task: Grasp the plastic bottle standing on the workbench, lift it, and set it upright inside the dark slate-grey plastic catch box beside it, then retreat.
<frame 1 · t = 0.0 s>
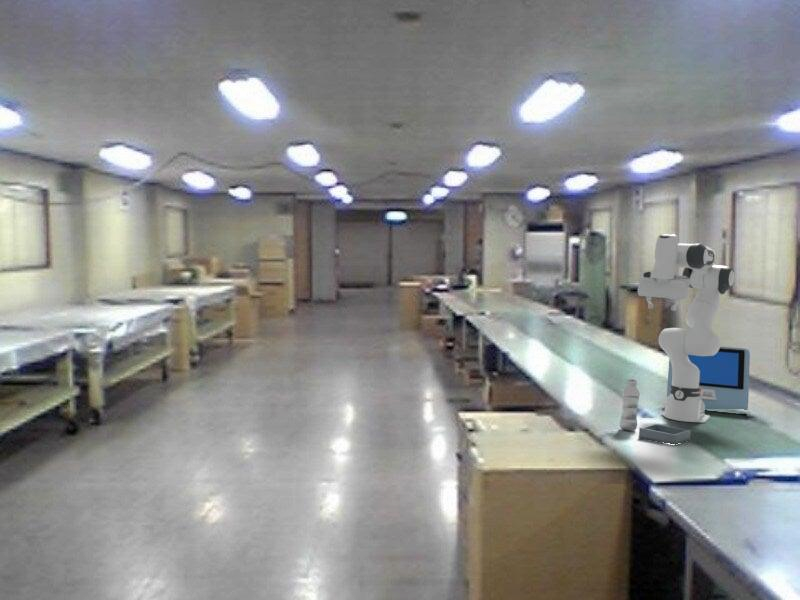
hand: (662, 309, 316), 48 cm above the table, fingers open, 8 cm apart
plastic bottle: (627, 431, 311), on the table
catch box: (664, 439, 298), on the table
touchscreen device: (704, 409, 373), on the table
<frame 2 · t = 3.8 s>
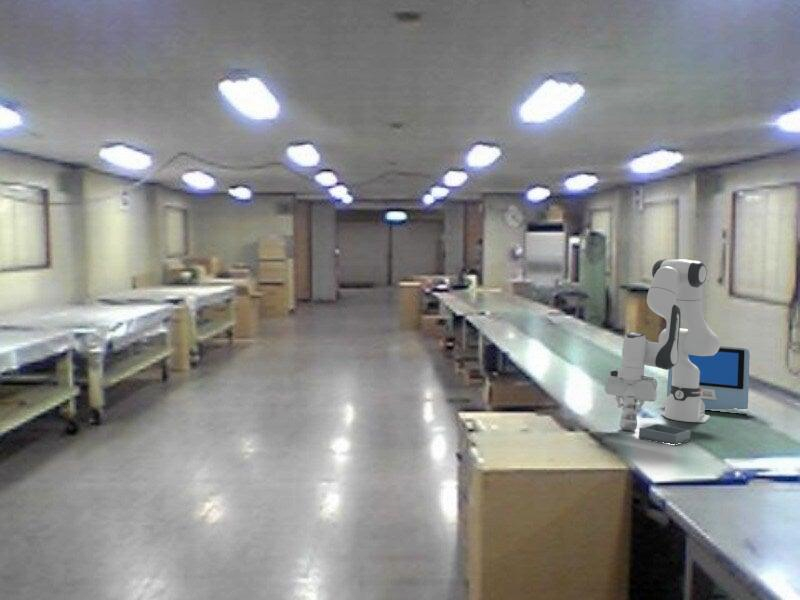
hand: (629, 409, 310), 9 cm above the table, fingers open, 6 cm apart
plastic bottle: (627, 431, 311), on the table, touching arm, gripper
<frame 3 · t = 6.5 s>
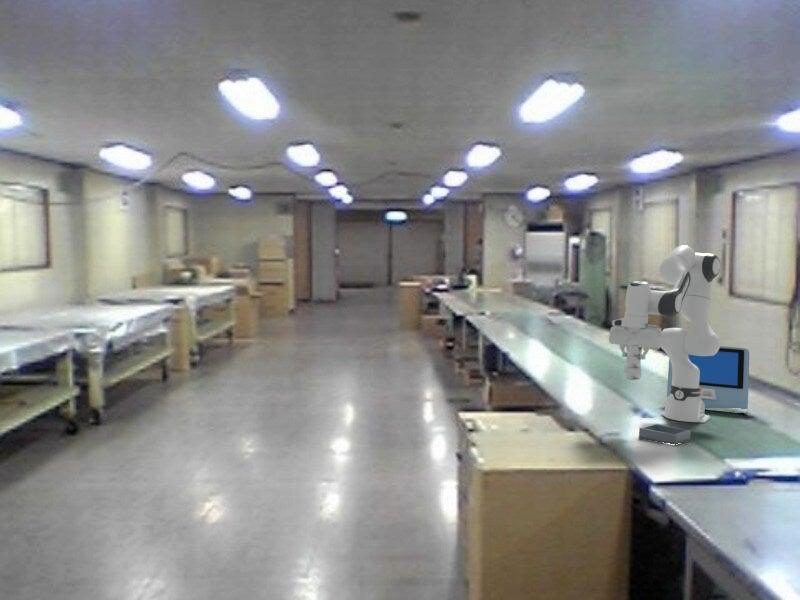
hand: (633, 358, 309), 29 cm above the table, fingers closed on plastic bottle, 6 cm apart
plastic bottle: (631, 380, 310), point 20 cm above the table, touching gripper
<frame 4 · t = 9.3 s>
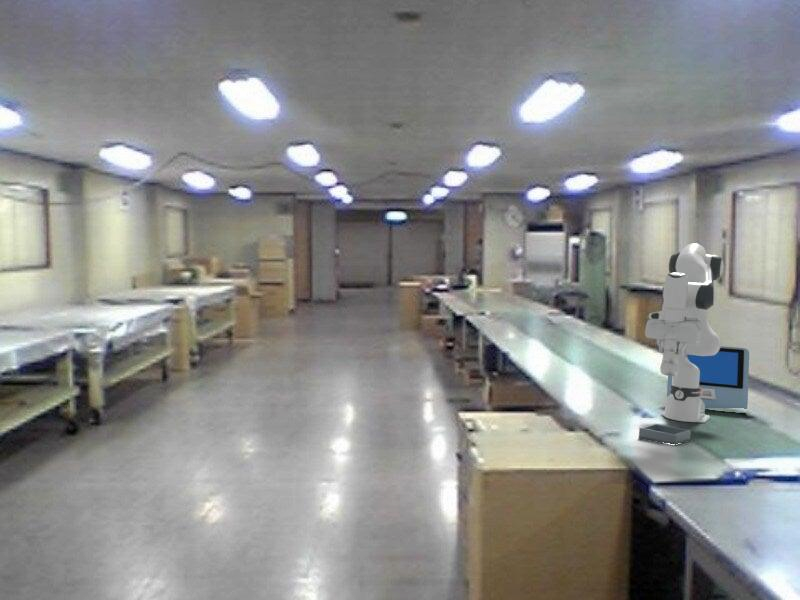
hand: (671, 352, 296), 33 cm above the table, fingers closed on plastic bottle, 6 cm apart
plastic bottle: (669, 376, 297), point 24 cm above the table, touching gripper
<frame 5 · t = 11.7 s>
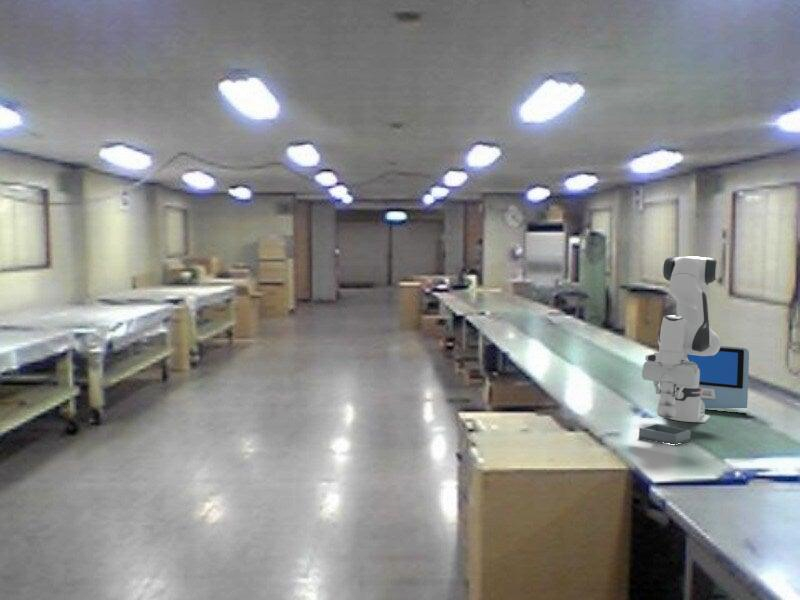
hand: (667, 395, 297), 17 cm above the table, fingers closed on plastic bottle, 6 cm apart
plastic bottle: (665, 418, 297), point 8 cm above the table, touching gripper
when the fingers open (10 cm above the table, at t = 13.7 s): plastic bottle moves 1 cm, resting on catch box.
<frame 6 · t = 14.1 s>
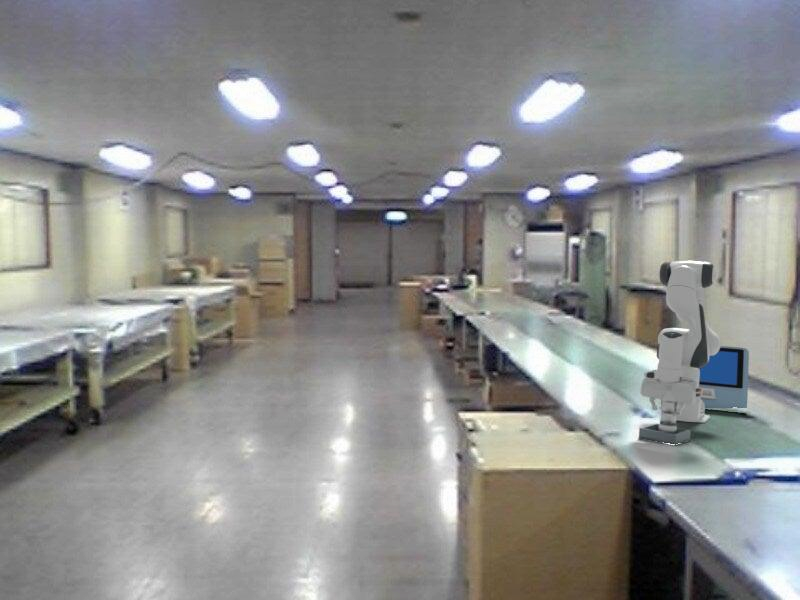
hand: (666, 411, 297), 11 cm above the table, fingers open, 8 cm apart
plastic bottle: (667, 437, 297), point 1 cm above the table, touching catch box, gripper
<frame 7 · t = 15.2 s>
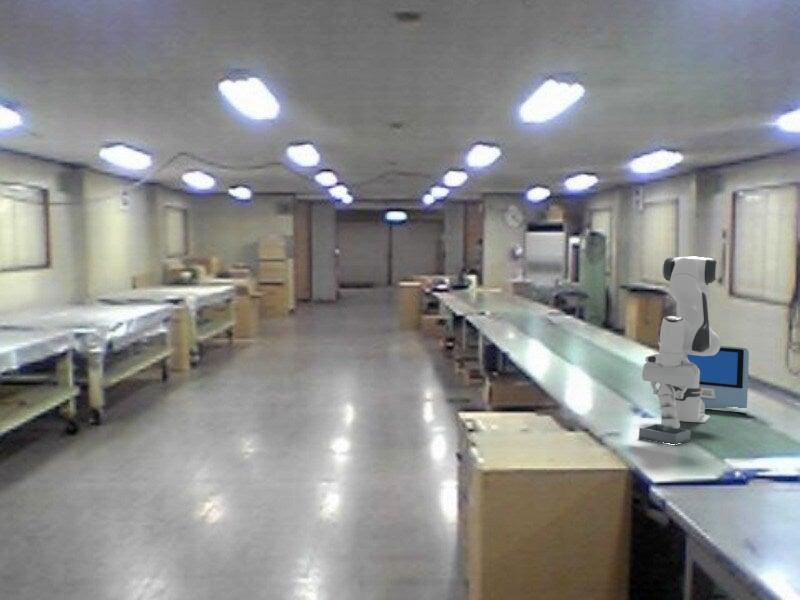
hand: (667, 396, 297), 16 cm above the table, fingers open, 8 cm apart
plastic bottle: (671, 431, 297), point 3 cm above the table, touching gripper
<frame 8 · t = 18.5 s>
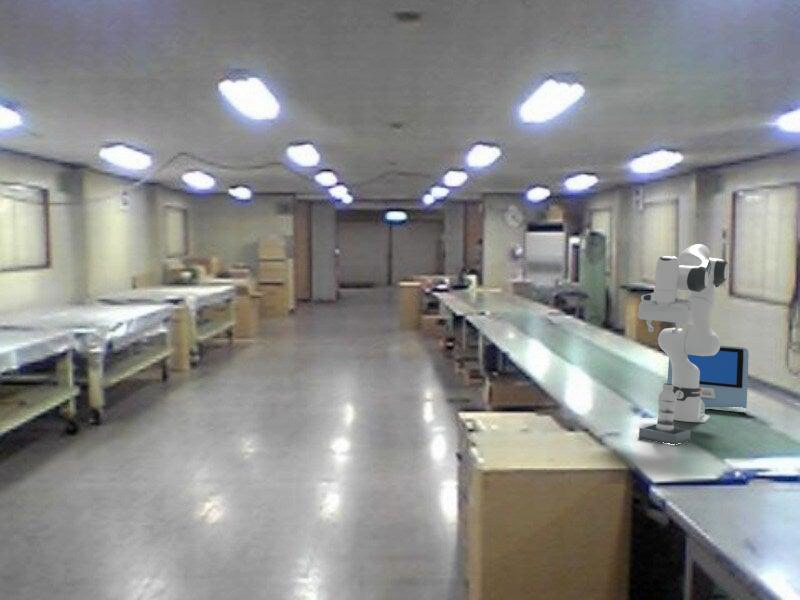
hand: (662, 333, 309), 39 cm above the table, fingers open, 8 cm apart
plastic bottle: (664, 437, 299), point 1 cm above the table, touching catch box
at the end: plastic bottle inside the target area on the catch box (0.8 cm from its centre), point 0.8 cm above the catch box's base; plastic bottle tilted 0°; the gripper is holding nothing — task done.
